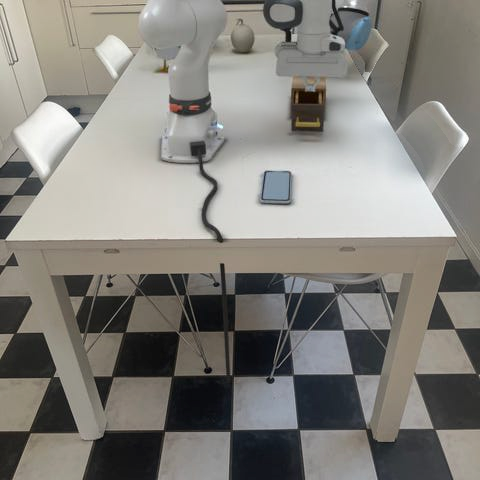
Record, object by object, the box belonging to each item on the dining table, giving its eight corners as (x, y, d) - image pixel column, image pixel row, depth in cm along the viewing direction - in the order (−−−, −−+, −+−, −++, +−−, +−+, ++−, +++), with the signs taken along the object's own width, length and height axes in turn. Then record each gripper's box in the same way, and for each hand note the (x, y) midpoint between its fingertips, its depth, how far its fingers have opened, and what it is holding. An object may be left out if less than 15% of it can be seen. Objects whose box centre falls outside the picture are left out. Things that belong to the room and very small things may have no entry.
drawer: (323, 139, 151) (325, 112, 146) (290, 138, 152) (291, 111, 147) (321, 108, 170) (323, 84, 166) (292, 108, 171) (293, 83, 167)
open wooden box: (324, 119, 165) (326, 88, 160) (290, 119, 167) (291, 87, 161) (322, 97, 182) (324, 68, 176) (292, 97, 183) (293, 68, 177)
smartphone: (259, 200, 123) (263, 170, 135) (259, 204, 124) (263, 173, 136) (290, 201, 123) (291, 170, 134) (290, 204, 123) (291, 174, 135)
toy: (155, 65, 218) (148, 2, 203) (198, 69, 211) (194, 5, 197) (145, 70, 212) (137, 6, 198) (190, 75, 205) (185, 9, 191)
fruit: (247, 46, 238) (247, 12, 230) (258, 52, 229) (258, 17, 221) (227, 49, 235) (225, 14, 226) (236, 55, 226) (235, 19, 218)
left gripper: (274, 44, 140) (273, 94, 148) (350, 45, 138) (345, 95, 146) (275, 38, 145) (274, 87, 153) (349, 39, 143) (344, 87, 151)
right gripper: (354, -21, 159) (347, 49, 171) (274, -21, 162) (273, 49, 174) (356, -17, 153) (349, 56, 165) (272, -16, 156) (271, 55, 168)
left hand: (310, 91), depth 150 cm, fingers closed
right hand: (310, 52), depth 170 cm, fingers open, 13 cm apart
